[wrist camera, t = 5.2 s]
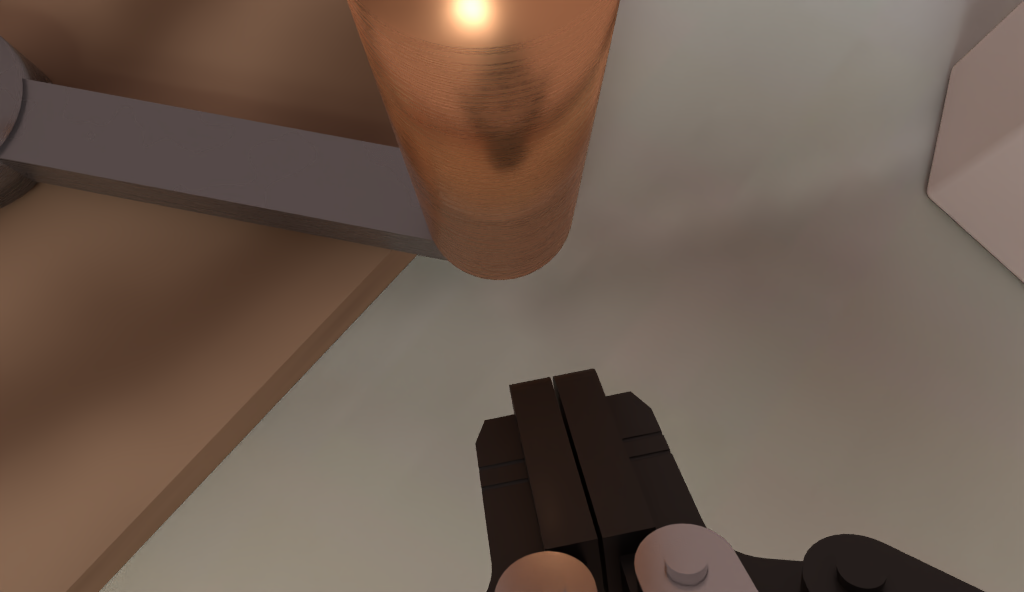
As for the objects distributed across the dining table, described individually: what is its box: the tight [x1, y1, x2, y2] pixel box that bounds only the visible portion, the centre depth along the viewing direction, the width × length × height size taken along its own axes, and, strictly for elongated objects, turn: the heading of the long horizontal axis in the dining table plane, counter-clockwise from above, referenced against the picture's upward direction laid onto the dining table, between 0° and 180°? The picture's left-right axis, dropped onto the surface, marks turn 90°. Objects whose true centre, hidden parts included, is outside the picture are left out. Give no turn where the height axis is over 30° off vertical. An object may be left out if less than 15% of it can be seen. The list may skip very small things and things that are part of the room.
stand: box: [0, 0, 417, 592], centre depth 22 cm, size 22×27×2 cm
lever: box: [0, 0, 620, 280], centre depth 15 cm, size 19×5×12 cm, turn 79°
